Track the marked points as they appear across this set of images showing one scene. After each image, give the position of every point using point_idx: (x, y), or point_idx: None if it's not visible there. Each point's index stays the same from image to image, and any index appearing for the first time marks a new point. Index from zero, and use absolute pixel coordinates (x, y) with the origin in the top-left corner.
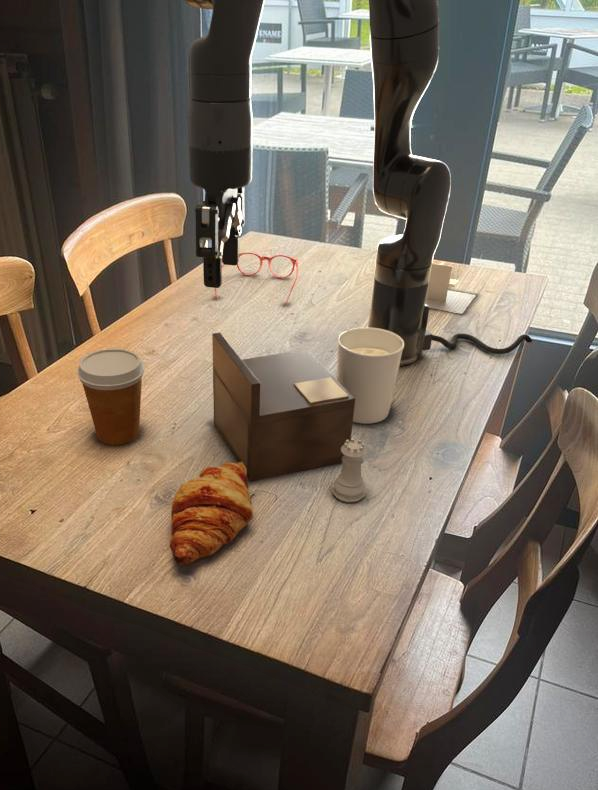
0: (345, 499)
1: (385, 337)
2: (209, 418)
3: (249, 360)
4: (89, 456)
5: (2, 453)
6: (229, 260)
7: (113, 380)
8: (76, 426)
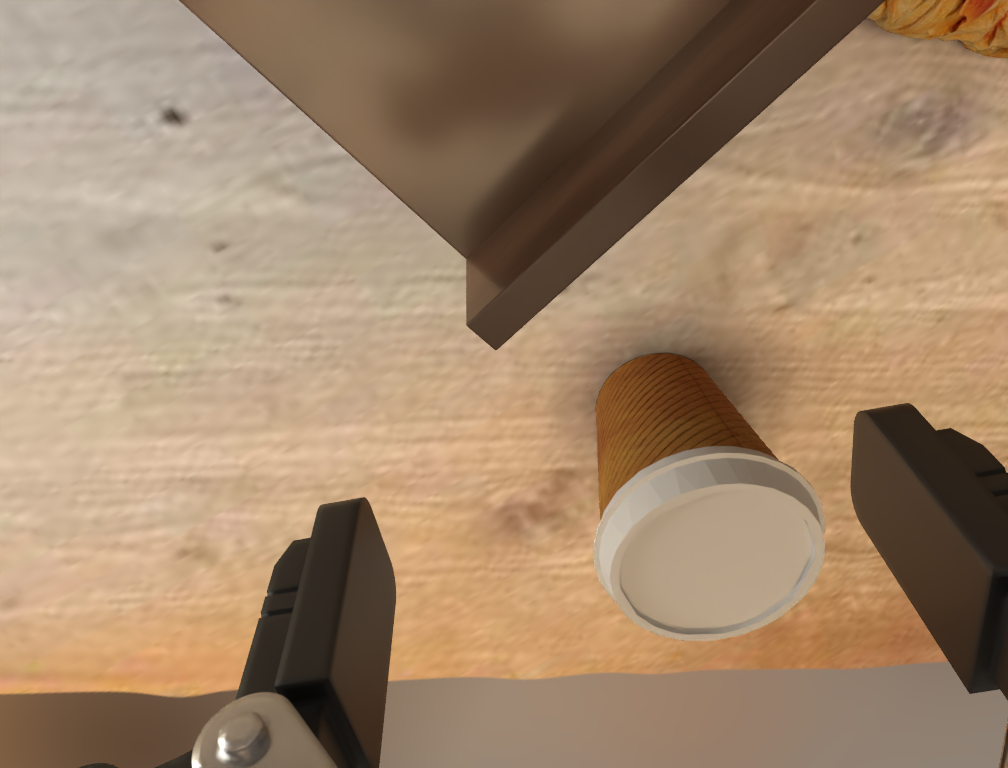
0: None
1: None
2: None
3: (381, 152)
4: (781, 408)
5: (822, 566)
6: (377, 563)
7: (810, 501)
8: None
